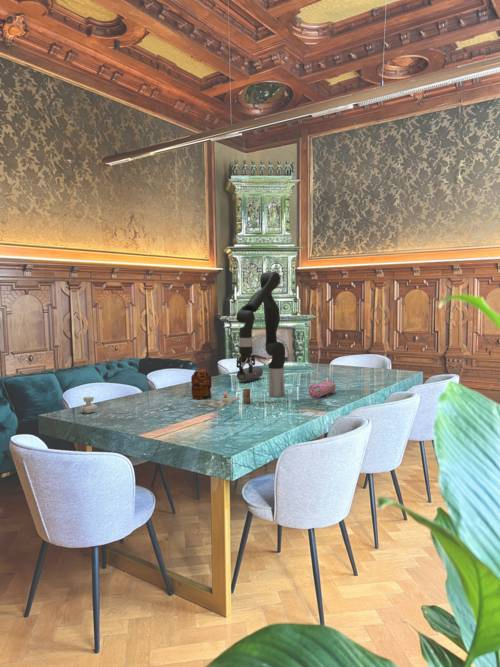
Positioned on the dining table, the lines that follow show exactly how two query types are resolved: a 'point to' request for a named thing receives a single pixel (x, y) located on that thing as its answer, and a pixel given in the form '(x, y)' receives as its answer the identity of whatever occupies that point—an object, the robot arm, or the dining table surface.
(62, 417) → the dining table surface
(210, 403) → the board
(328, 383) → the pencil case
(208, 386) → the wooden figurine
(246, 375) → the bluetooth speaker
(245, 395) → the walnut pin
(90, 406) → the stamp
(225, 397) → the key plate
